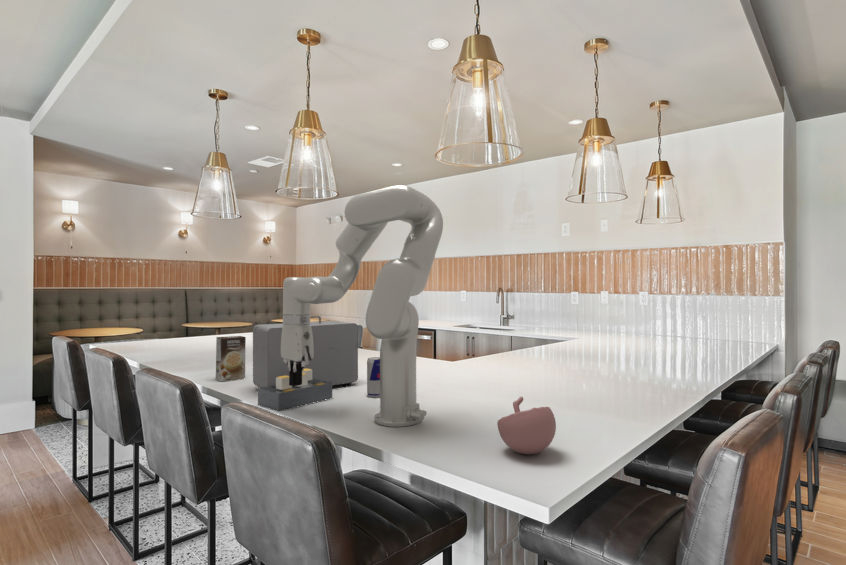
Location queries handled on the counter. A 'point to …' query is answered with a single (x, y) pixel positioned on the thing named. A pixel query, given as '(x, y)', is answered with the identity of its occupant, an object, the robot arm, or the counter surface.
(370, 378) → the energy drink
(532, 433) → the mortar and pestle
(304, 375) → the switch
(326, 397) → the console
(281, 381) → the switch
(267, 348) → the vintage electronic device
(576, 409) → the counter surface
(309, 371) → the switch
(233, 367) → the coffee box
